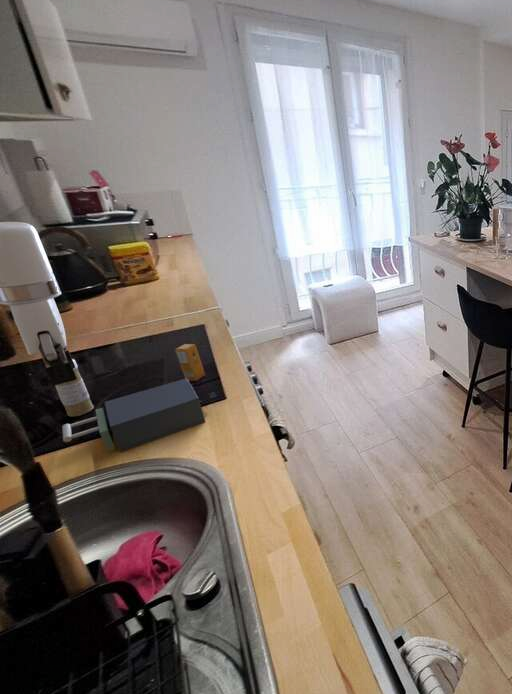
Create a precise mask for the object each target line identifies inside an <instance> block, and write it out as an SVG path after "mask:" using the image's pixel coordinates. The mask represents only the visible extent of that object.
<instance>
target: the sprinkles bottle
mask: <svg viewBox="0 0 512 694" xmlns="http://www.w3.org/2000/svg"><path fill="white" fill-rule="evenodd" d="M72 360H73V362H74V365H75V368H74V369H73V370H74V372H75V375H76V378H77V379H76V380H74V381H70V382H66V383H62V384H58V385H54V387H55V389H56V391H57V395H58V397H59V399H60V401H61V403H62V405H63V407H64V409H65V411H66V415H67V416H68V417H72V418H73V417H80V416H83V415H85V414H88V413H90V412H92V411H93V410H94V408H95V406H94V404H93V403H92V400H91V398H90V394H89V392H88V390H87V389H88V388H87V387H86V384H85V382H84V379H83V378H82V376H81V374H80V372H79V367H78V364H77V362H76V360H75V359H74V358H72Z"/></svg>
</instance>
